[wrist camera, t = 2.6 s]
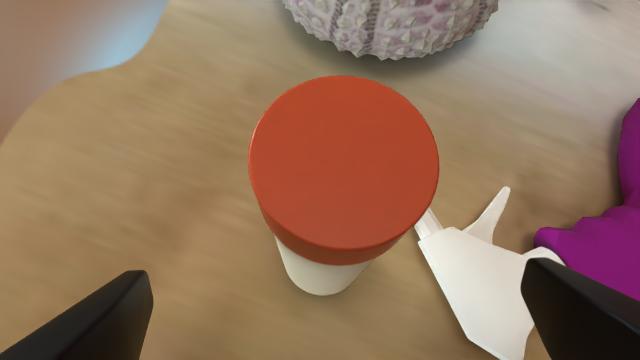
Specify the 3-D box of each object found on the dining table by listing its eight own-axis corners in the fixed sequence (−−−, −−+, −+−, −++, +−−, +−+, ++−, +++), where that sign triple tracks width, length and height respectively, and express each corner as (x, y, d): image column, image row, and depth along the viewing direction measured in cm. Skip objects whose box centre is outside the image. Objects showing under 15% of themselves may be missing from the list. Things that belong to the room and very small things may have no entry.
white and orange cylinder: (378, 265, 19) (480, 173, 8) (314, 317, 18) (326, 295, 7) (329, 204, 20) (358, 45, 9) (266, 249, 19) (210, 136, 8)
